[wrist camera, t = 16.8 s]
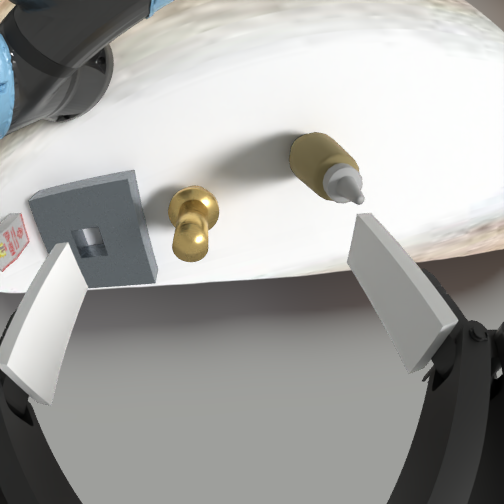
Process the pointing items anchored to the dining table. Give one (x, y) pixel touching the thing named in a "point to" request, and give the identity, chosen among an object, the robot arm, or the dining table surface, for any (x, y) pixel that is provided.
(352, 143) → the dining table surface
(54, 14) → the robot arm
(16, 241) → the tea bag
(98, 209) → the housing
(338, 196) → the squeeze bottle
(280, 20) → the dining table surface
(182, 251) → the brass door knob
